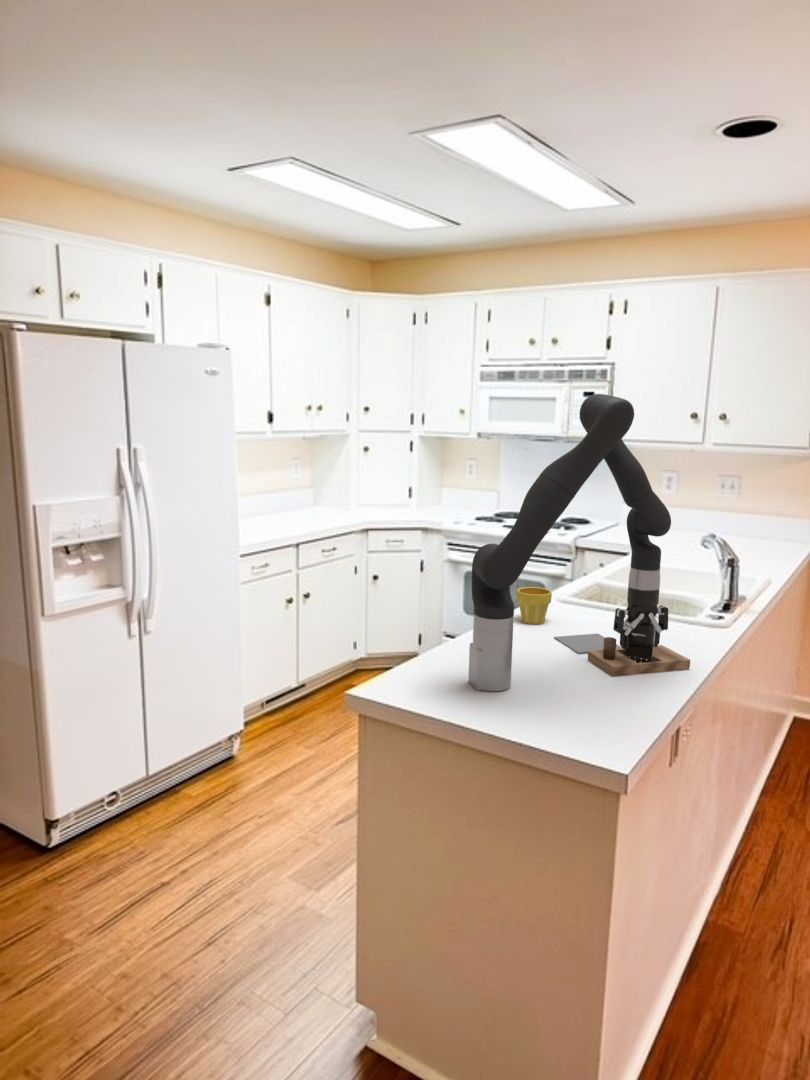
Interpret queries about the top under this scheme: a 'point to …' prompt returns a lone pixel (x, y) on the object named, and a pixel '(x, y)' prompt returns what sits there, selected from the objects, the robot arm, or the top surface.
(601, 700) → the top surface
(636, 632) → the battery charger
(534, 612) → the plant pot
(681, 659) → the plane body
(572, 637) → the rubber mat
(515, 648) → the top surface
